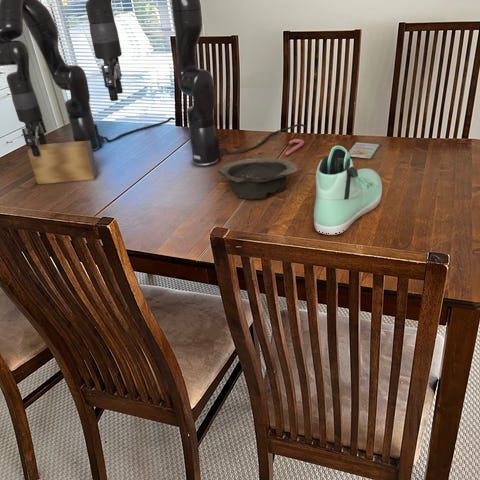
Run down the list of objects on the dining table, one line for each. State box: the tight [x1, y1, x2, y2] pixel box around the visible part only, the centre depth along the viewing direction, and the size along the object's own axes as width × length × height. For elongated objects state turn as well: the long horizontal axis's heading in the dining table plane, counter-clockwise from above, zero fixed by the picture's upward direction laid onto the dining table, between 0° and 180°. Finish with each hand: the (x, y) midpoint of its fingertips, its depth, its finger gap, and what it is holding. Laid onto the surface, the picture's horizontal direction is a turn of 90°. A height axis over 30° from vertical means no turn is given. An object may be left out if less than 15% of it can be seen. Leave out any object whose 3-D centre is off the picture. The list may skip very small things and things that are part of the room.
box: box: [27, 141, 99, 185], centre depth 170 cm, size 20×6×12 cm, turn 93°
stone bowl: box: [217, 157, 299, 201], centre depth 152 cm, size 25×25×9 cm
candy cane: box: [284, 138, 305, 156], centre depth 182 cm, size 6×15×2 cm, turn 145°
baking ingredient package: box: [347, 141, 380, 159], centre depth 175 cm, size 9×1×15 cm
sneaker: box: [313, 145, 383, 236], centre depth 133 cm, size 14×35×20 cm, turn 152°
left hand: (40, 151), depth 167 cm, fingers open, 8 cm apart
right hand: (117, 96), depth 145 cm, fingers open, 8 cm apart
